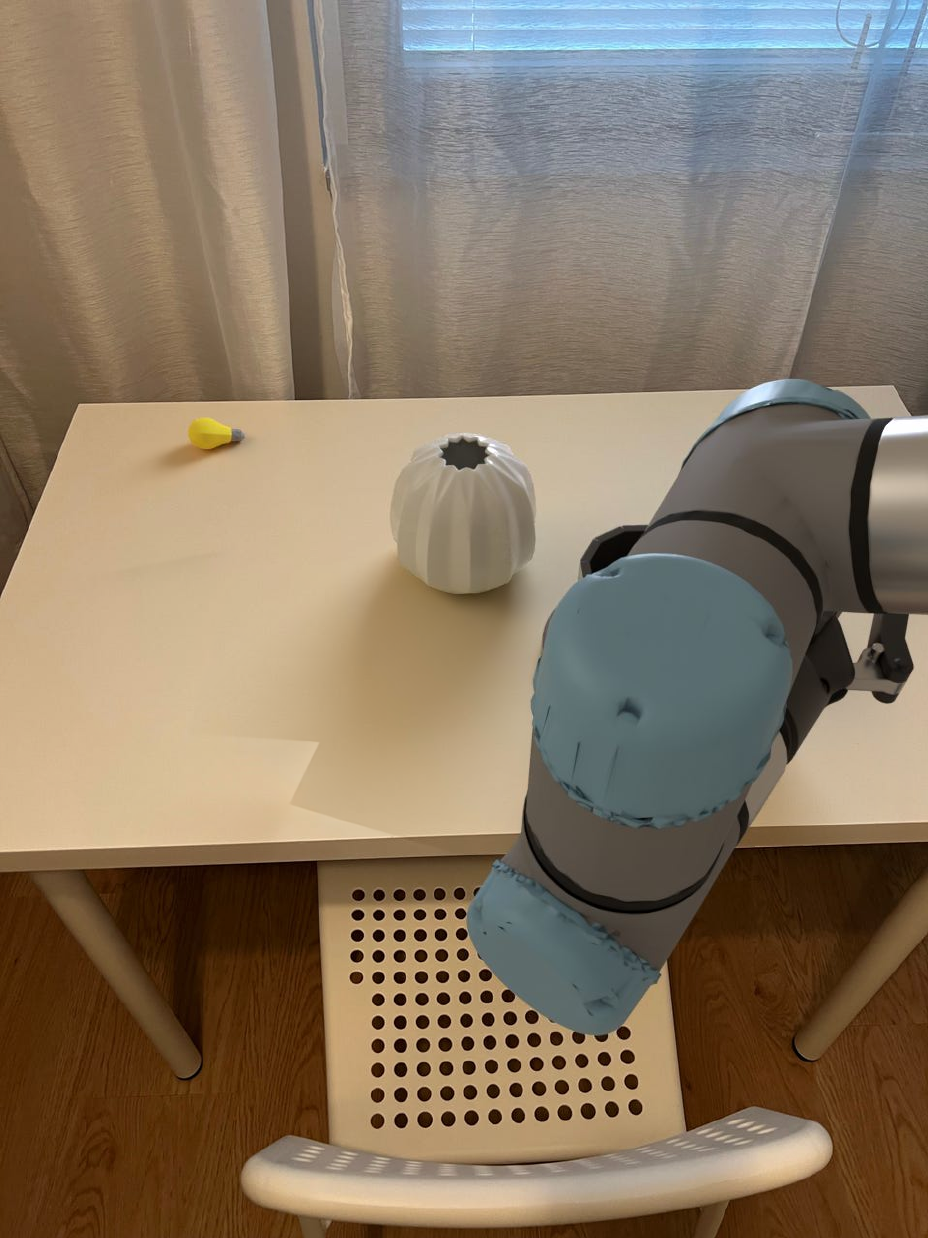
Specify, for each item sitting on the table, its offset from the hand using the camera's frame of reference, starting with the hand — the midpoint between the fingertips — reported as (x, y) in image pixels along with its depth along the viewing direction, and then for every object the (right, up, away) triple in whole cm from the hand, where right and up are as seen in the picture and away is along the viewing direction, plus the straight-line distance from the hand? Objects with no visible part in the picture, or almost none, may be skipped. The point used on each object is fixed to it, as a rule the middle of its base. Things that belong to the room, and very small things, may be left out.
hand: (897, 466), depth 57 cm
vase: (-26, -4, +36) cm, 44 cm away
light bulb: (-53, +10, +47) cm, 72 cm away
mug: (-9, -13, +26) cm, 30 cm away
